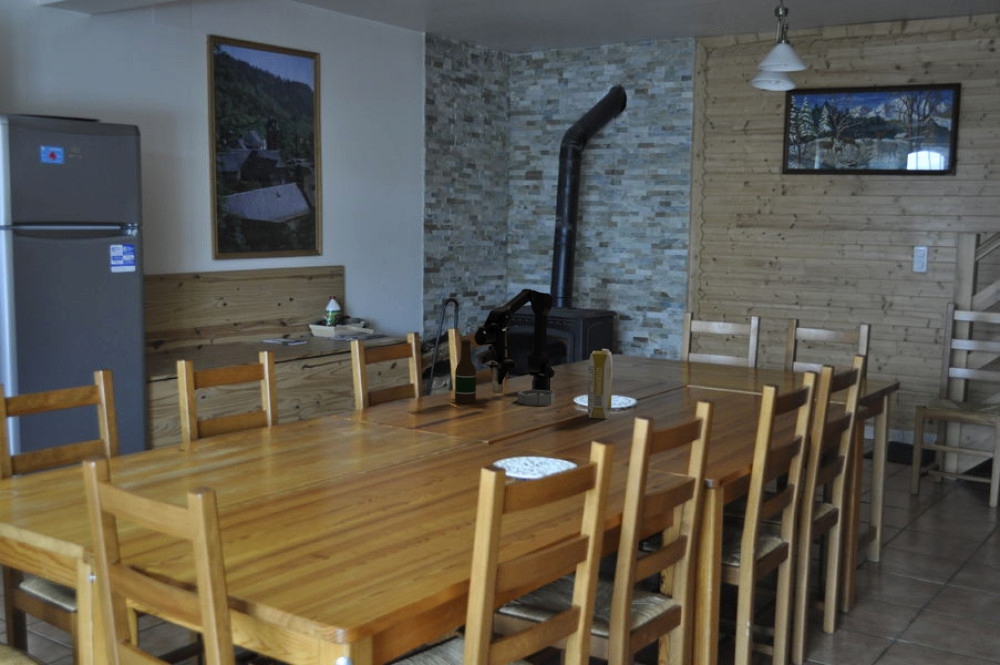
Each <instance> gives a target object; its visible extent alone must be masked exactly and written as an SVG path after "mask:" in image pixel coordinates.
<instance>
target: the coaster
mask: <svg viewBox="0 0 1000 665" xmlns="http://www.w3.org/2000/svg"><path fill="white" fill-rule="evenodd" d="M482 398H484V399H486V400H489V401H491V402H499V401H510V400H511V401H512V400H514V398H511V397H508V396H506V395H503V394H502V395H491V396H482Z"/></svg>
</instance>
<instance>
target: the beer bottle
mask: <svg viewBox="0 0 1000 665" xmlns="http://www.w3.org/2000/svg"><path fill="white" fill-rule="evenodd" d="M460 344H461V348H460V349H461V350H460V359H459V362H458V364H457V365H456V368H455V372H454V374H455V375H454V378H455V379H454V402H455V404H459V405H473V404H475V403H476V400H477V399H476V398H477V371H476V370H477V369H476V367H475V365H474V364H473V362H472V354H471V353H472V351H471V344H472V341H471V340H470V339H461V341H460Z"/></svg>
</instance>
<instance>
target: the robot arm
mask: <svg viewBox="0 0 1000 665" xmlns="http://www.w3.org/2000/svg"><path fill="white" fill-rule="evenodd" d="M553 301H554V300H553V296H552V295H551V294H550V293H549V292H541V291H537V290H535V289H533V288H523V289H521V291H520V292H518V293H517V295H515V296H514V297H513V298H511V299H510V300H509V301H507V302H506V303H505V304H504V305H501V306H497V307H495V308H493V309H491V310H490V311H489V313H488V316H487V318H486V320H485V322H484V324H483V326H478V330H477V331H476V332H475V333H474V337H473V339H474V342H475V343H476V345H478V346H486V345H488V347H487V349H486V350H483V351H481V352H479V353H477V354H476V355H475V357H476V359H477V362H478V363H479V364H481V365H485V366H487V368H489V369H490V371H491V376H492V377H493V366H498V367H494V368H495V370H496V371H497V377H498V384H499V385H501V384H502V382H503V383H504V380H505V378H506V377H507V376H506V375H507V374H508V372H509V370H510V369H516V368H517V362H516V361H515V360H514V359H509V357H508V356H507V350H508V349H509V346H508V345H507V332H508V331H509V332H510V331H511V328H510V327H508V324H509V323H510V322H511V320H512V319H513V316H514V314H515V313H517V312H519V310H520V309H521V308H523V307H524V306H525V305H527V304H528V303H530V309H531V310H532V312H533V314H534V320H533V321H534V326H533V347H532V352H531V353H530V354H528V355H527V363H526V366H527V368H528V371H529V376H531V377H532V378H533V379H532V380H531V389H530V390H547V391H551V392H553V390H551V378H554V377H555V371H554V369H553V368H552V366H551V364H550V357H549V356H548V353H547V350H546V349H547V329H548V328H547V327H548V315H549V313H550V312H551V310H552V306H553ZM486 363H487V364H486Z"/></svg>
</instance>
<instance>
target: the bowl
mask: <svg viewBox="0 0 1000 665" xmlns="http://www.w3.org/2000/svg"><path fill="white" fill-rule="evenodd" d="M551 391H552V390H551ZM551 391H547V390H531V389H526V390H525V389H524V390H520V391H518V392H517V403H519V404H521V405H522V404H523V405H524V406H525V405H526V406H536V408H542V407H541V406H548V407H551V406H552V404H553V403H555V400H556V399H555V397H556V394H555V392H553V391H552V392H551Z"/></svg>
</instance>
